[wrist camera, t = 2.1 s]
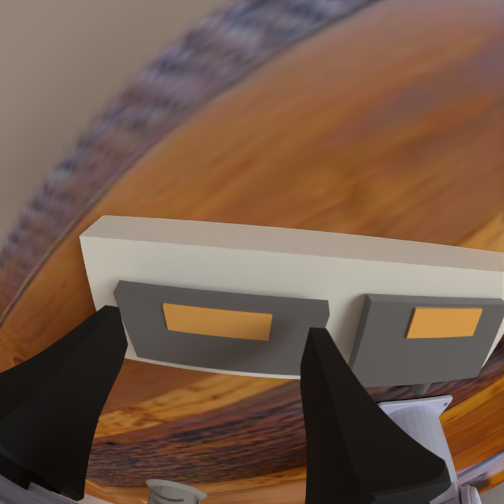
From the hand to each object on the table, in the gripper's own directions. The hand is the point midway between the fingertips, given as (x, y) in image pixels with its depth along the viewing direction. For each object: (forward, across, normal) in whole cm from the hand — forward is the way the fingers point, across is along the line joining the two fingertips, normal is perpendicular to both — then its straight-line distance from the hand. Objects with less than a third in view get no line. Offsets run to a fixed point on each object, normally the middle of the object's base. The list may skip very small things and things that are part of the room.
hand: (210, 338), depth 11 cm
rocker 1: (+2, 0, +2) cm, 3 cm away
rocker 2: (+2, -11, +2) cm, 11 cm away
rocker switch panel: (+6, -6, +4) cm, 9 cm away
